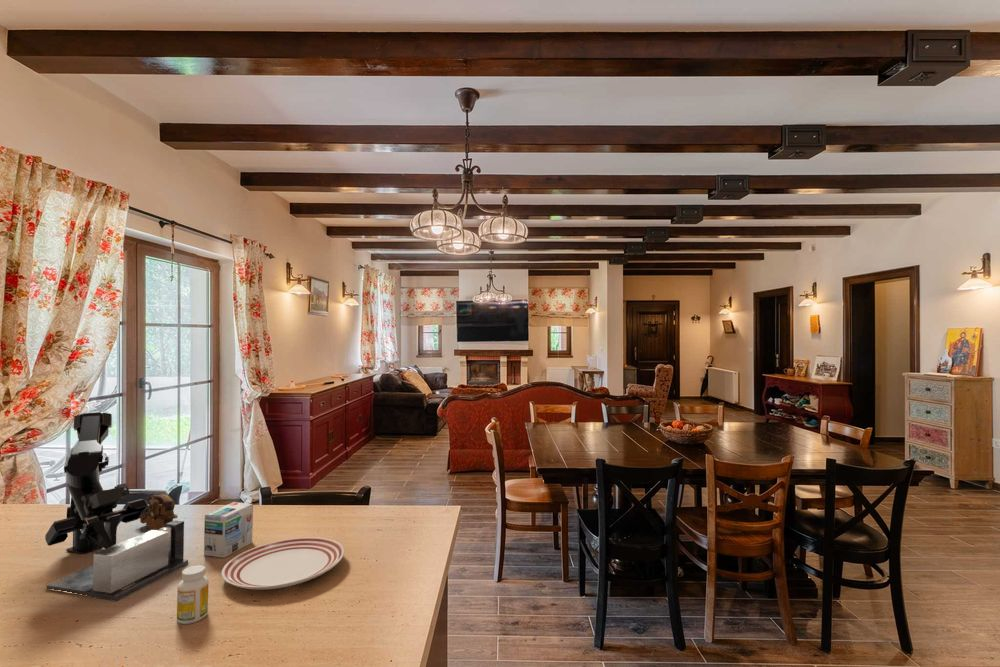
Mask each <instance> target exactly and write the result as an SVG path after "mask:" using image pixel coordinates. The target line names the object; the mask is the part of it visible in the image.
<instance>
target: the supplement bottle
mask: <svg viewBox="0 0 1000 667" xmlns="http://www.w3.org/2000/svg"><path fill="white" fill-rule="evenodd" d="M205 574H206V567H205V565H201V564H200V565H199V564H198V565H192V566H189V567H186V568H185V569H183V570H182V571H181V579H182V580H181V581H180V582H179V583H178V585H177V596H176V600H177V601H176V602H177V603H176V622H177V623H178V624H180V625H191V624H194V623H196V622H199V621H201V620H202V619H203V618H205V617H206V616H207V614H208V612H209V584H210V583H209V578H208V576H206V575H205Z"/></svg>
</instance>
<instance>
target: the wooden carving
mask: <svg viewBox="0 0 1000 667" xmlns="http://www.w3.org/2000/svg"><path fill="white" fill-rule="evenodd" d="M175 502H176V501H175V500H174V499H173V498H171V497H170V495H168V494H166V493H165V494H164V493H162V494H154V495H153V494H152V495H150V496H149V499H148V501H147V503H148V508H147V509H146V510H145V512H144V513H143V515H142V516H141V517H140V518H139V522H140V523H141V524H145V525H146V527H147V528H148V529H149V530H158V531H159V529H160V528H163V527H166V524H167V523H169V522H172V521H174V519H177V518H178V515H177V514H174V513H175V512H174V509H175V506H176V505H175V504H176V503H175Z"/></svg>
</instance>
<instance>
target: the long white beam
mask: <svg viewBox="0 0 1000 667" xmlns="http://www.w3.org/2000/svg"><path fill="white" fill-rule="evenodd" d="M169 561H171V527H163V528H160V529H159V530H151V529H149V530H148V531H146V532H143V533H141V534H139V535H136V536H134V537H131V538H129V539H126V540H124V541H122V542H119V543H116V545H114V546H111V547H109V548H106V549H105V548H103V549H101V550H99V551H97V552H94V553H93V564H92V565H93V590H94V591H100V592H106V593H112V592H114V591H116V590H118V589H120V588H122V587H124V586H126V585H128V584H130V583H132V582H134V581H136V580H138V579H140V578H142V577H144V576H146V575H148V574H150V573H152V572H154V571H156V570H158V569H160V568H162V567H164V566H166V565H168V562H169Z"/></svg>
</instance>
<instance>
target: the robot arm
mask: <svg viewBox="0 0 1000 667" xmlns="http://www.w3.org/2000/svg"><path fill="white" fill-rule="evenodd" d="M112 414H113V413H108V412H106V411H105V412H104V411H101V410H95V411H94V410H92V411H84V412H80V413H79V414H77V415H74V416H73V430H74V431H76V433H77V439H78V443H77V444H76V445H75V446H74V447H72V448H71V450H70V454H69V456H67V457H66V458H65V462H64V465H63V472H64V474H67V475H66V477H67V485H66V487H67V490H68V492H69V494H70V496H71V500H70V506H67V508H66V518H63V519H60V520H55V521H54V522H52V524H51V525H50V527H49V529H48V530H47V532H46V534H45V537H44V538H45V539H44V540H45V543H46V544H47V546H53V545H57V544H60V543H64V542H65V541H66V540H67V538H68V537H69V535H68V534H70V533H72V546H71V547H69V548H66V550H65V551H66V552H69V551H70V552H71V553H76V552H77V554H88V553H89V552H92V551H94V550H97V549H100V548H103V549H106V548H109V547H111V546H114V545H116V544H117V534H118V533H117V531H118V527H119V525H120V523H121V522H122V523H124V524H127V523H131V522H135V521H137V520H140V517H141V516H142V515H143V513H144V512H145V510H146V509H147V508H148V506H149V504H148V501H147V500H146V499H143V498H138V499H136V500H131V501H128V502H126V503H125V504H124V506H123V507H122V509H117V510H114V509H116V508H117V506H118V504H117V503H118V502H122V501H123V498H125V497H128V496H129V495H130V489H129V487H128V485H127V483H126V482H125V483H120V484H117V485H116V486H114V488H109V489H103V487H102V484H101V482H100V476H101V475H100V473H101V472H102V471H103V469H106V467H107V466H109V463H110V462H109V461H110V457H109V456H108V454H107V453H104V445H102V443H103V442H104V441H105V440H106V439H107V437H108V436H109V430H110V428H112V427H113V426H112V425H113V417H112V416H113V415H112ZM70 552H69V553H70Z"/></svg>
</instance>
